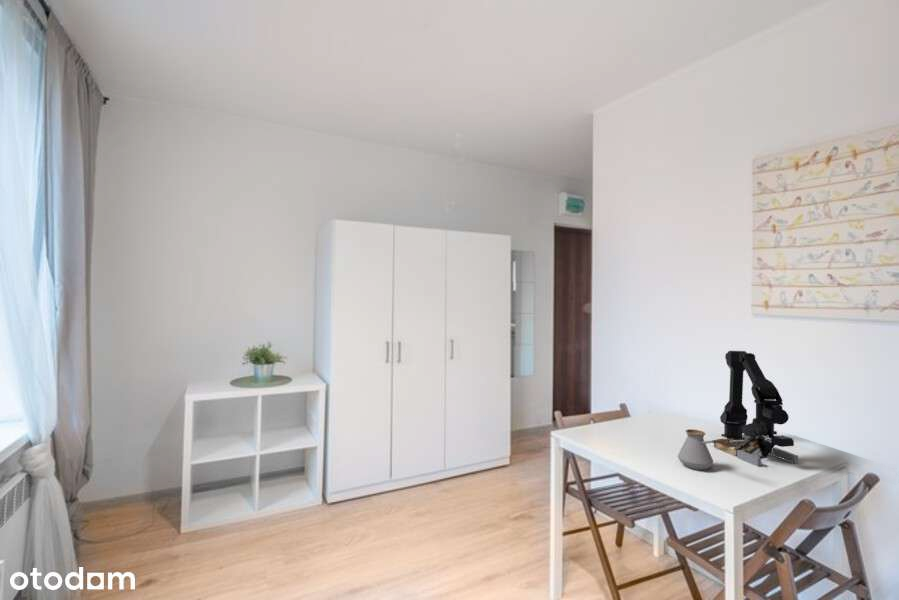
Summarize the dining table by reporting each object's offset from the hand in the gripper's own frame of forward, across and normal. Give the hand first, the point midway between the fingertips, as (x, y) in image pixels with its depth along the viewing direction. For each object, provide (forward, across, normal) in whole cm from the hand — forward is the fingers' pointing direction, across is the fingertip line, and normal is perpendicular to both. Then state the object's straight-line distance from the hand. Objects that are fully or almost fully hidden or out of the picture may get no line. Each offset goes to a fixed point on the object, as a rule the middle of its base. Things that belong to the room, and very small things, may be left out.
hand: (764, 457), depth 164 cm
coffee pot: (+1, +6, -31) cm, 32 cm away
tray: (+1, -10, 0) cm, 10 cm away
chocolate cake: (+1, -5, -1) cm, 5 cm away
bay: (+1, +1, 0) cm, 1 cm away
